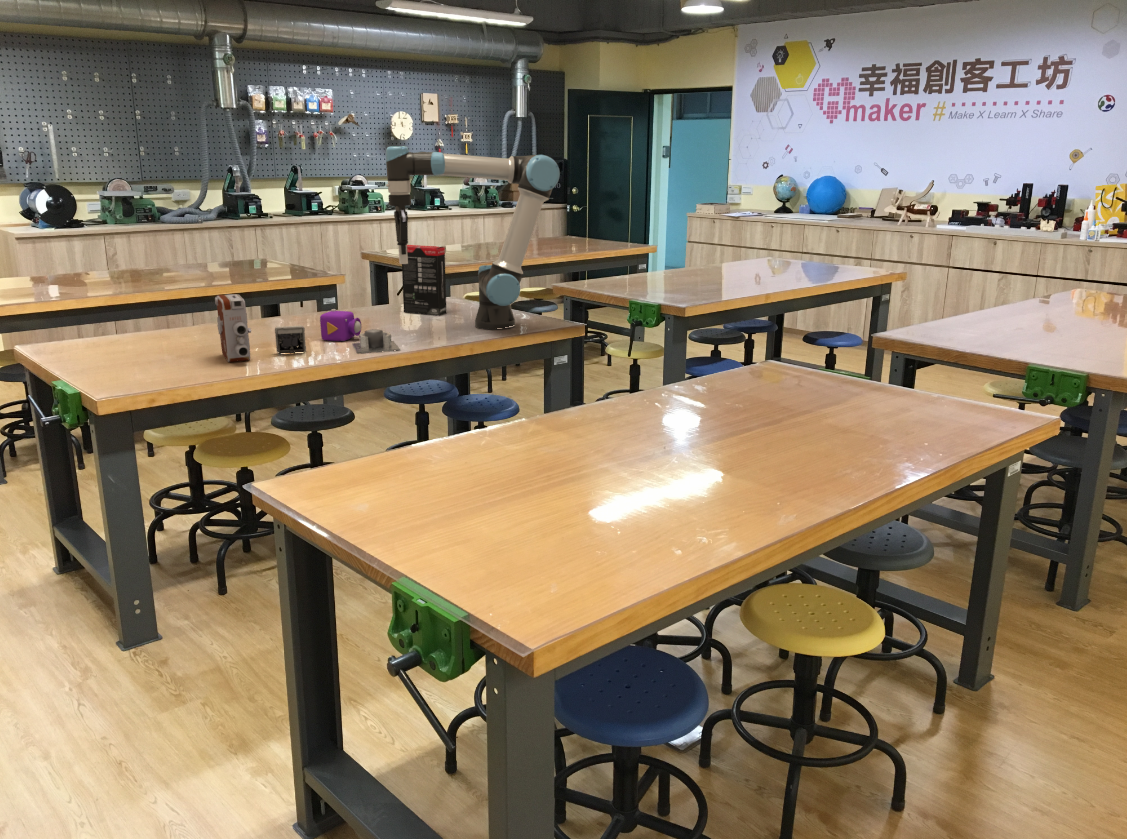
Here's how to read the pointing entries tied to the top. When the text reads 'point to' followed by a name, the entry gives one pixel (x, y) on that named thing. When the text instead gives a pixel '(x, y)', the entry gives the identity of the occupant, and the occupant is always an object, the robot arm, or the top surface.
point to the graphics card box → (424, 280)
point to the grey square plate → (364, 348)
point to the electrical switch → (290, 339)
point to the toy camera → (339, 325)
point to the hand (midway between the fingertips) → (403, 263)
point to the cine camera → (233, 327)
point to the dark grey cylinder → (375, 338)
